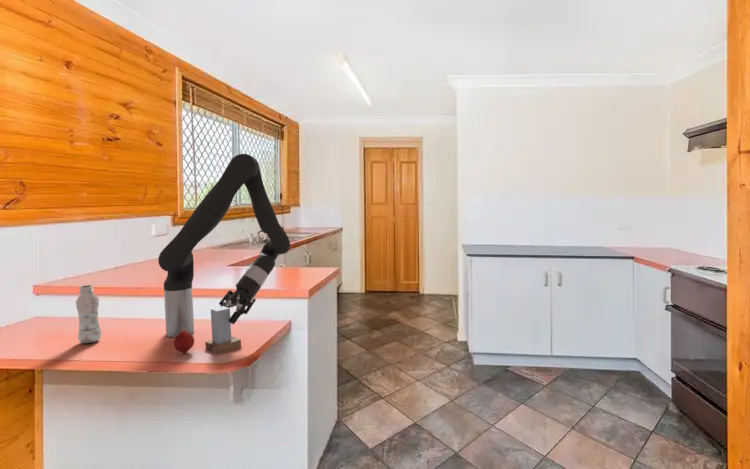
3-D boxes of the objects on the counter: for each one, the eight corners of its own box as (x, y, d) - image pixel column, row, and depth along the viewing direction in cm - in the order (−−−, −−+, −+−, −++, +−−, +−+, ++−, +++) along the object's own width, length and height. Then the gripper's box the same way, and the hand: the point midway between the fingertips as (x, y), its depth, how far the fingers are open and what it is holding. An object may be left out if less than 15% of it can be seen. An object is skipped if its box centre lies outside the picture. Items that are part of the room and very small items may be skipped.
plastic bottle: (100, 337, 131) (96, 283, 130) (103, 342, 127) (99, 286, 125) (77, 342, 127) (73, 286, 125) (79, 347, 122) (75, 289, 121)
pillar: (212, 341, 120) (210, 308, 119) (225, 337, 124) (223, 306, 123) (218, 344, 117) (216, 311, 117) (231, 340, 121) (229, 308, 120)
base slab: (205, 350, 120) (205, 341, 120) (227, 342, 127) (227, 334, 126) (219, 356, 115) (218, 346, 115) (241, 347, 122) (240, 339, 122)
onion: (185, 357, 113) (184, 332, 113) (170, 356, 114) (168, 331, 114) (198, 350, 119) (197, 326, 118) (183, 349, 120) (182, 325, 119)
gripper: (234, 272, 131) (204, 311, 123) (257, 277, 122) (227, 318, 114) (247, 284, 135) (220, 322, 127) (271, 289, 127) (243, 330, 119)
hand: (223, 320), depth 121 cm, fingers open, 8 cm apart
